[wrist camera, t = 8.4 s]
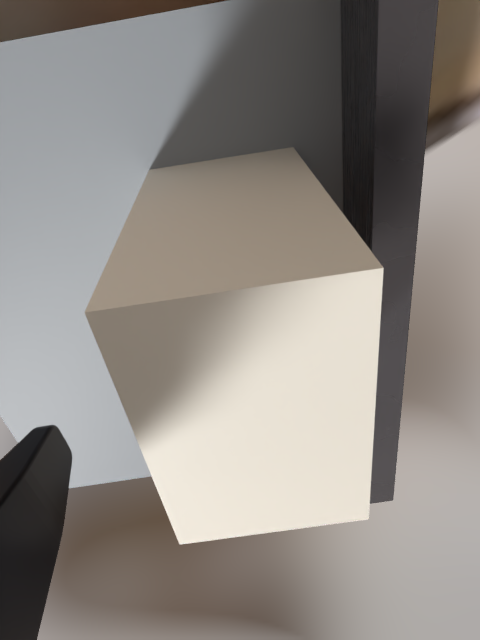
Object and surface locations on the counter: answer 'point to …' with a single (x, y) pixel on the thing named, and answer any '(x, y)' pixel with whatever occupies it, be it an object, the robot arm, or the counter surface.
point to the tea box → (244, 345)
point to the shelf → (189, 147)
